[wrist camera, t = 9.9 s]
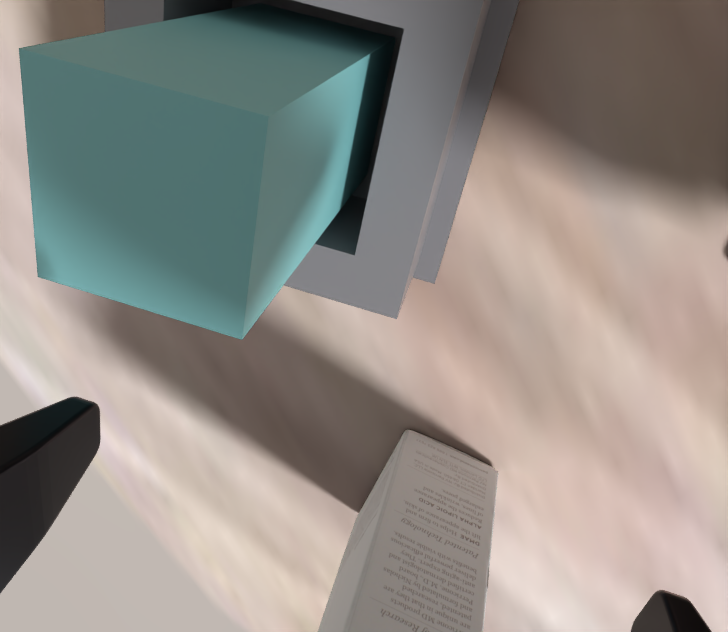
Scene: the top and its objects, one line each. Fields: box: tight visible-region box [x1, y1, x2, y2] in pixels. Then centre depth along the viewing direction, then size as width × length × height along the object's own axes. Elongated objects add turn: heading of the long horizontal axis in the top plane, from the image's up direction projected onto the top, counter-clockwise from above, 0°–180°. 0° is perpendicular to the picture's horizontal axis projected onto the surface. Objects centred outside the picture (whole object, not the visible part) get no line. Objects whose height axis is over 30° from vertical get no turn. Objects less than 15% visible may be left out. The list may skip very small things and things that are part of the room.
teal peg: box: [19, 3, 396, 340], centre depth 15 cm, size 4×4×10 cm
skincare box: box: [318, 430, 498, 632], centre depth 22 cm, size 6×4×12 cm
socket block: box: [104, 0, 519, 319], centre depth 18 cm, size 10×10×5 cm
